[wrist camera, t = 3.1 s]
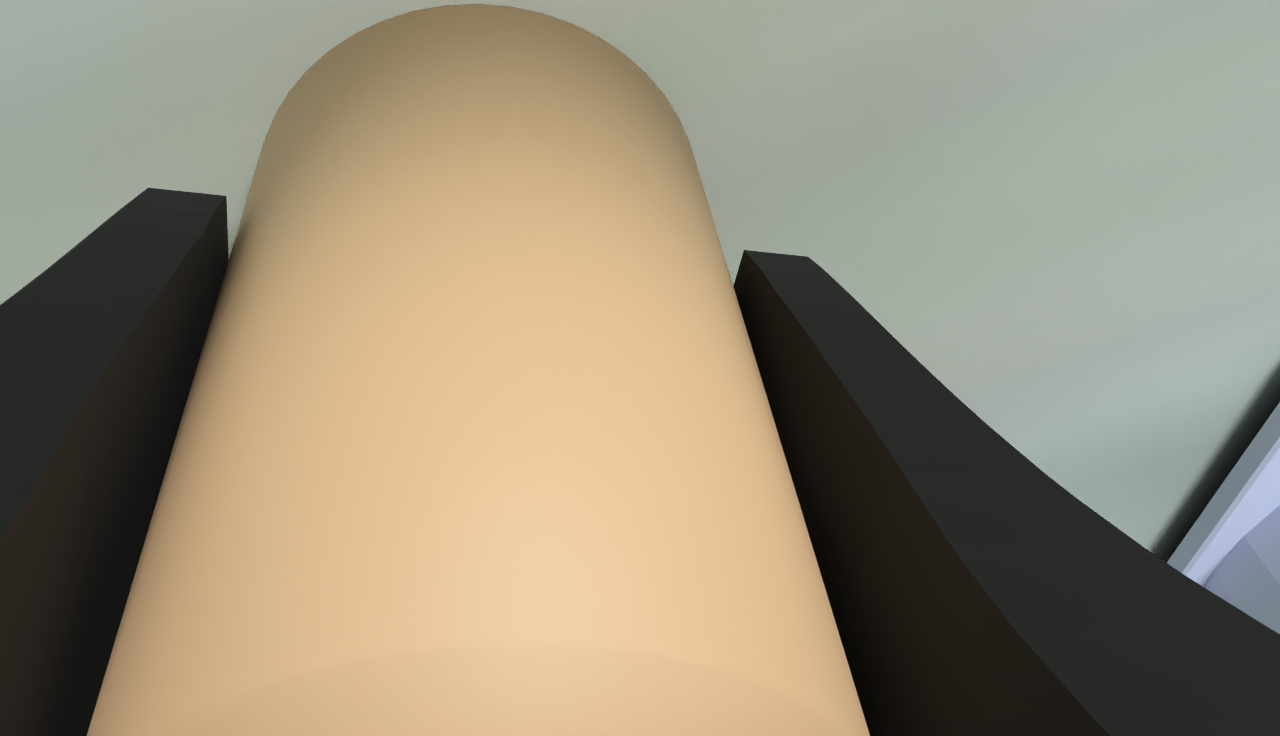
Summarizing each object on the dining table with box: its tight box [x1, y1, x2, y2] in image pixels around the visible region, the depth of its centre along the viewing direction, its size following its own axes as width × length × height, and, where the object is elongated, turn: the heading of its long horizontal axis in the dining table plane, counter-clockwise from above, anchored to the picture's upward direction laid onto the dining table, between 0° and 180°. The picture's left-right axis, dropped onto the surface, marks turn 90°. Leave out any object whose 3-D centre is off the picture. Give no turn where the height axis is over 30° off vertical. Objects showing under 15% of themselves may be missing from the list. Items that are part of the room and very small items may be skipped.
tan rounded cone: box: [87, 4, 870, 736], centre depth 9 cm, size 4×4×7 cm
